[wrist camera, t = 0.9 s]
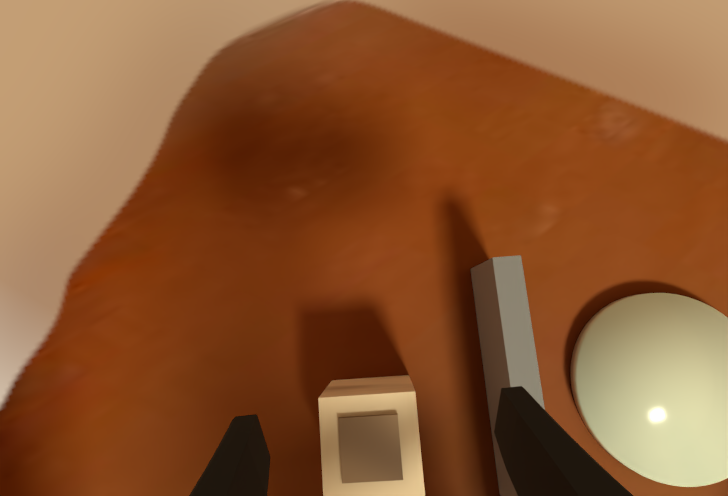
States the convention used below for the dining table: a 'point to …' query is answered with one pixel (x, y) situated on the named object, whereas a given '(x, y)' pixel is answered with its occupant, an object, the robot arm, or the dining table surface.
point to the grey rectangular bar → (504, 340)
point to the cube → (370, 438)
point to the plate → (657, 386)
